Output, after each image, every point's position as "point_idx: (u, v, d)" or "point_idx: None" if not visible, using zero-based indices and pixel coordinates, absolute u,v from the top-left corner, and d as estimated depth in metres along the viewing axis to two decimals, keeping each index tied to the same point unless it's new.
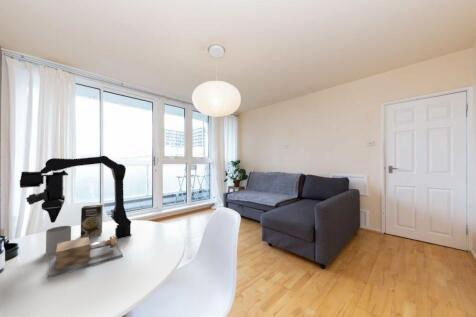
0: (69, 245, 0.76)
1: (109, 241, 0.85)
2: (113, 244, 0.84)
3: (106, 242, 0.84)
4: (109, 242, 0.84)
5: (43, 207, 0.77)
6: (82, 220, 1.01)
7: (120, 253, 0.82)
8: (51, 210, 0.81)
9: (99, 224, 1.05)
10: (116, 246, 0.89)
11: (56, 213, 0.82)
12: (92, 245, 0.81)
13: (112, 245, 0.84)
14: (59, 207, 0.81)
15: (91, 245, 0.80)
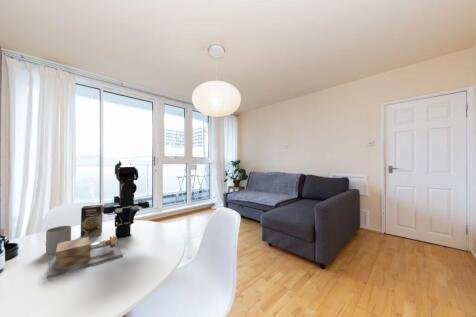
0: (69, 245, 0.76)
1: (109, 241, 0.85)
2: (113, 244, 0.84)
3: (106, 242, 0.84)
4: (109, 242, 0.84)
5: None
6: (82, 220, 1.01)
7: (120, 253, 0.82)
8: None
9: (99, 224, 1.05)
10: (116, 246, 0.89)
11: (120, 218, 0.87)
12: (92, 245, 0.81)
13: (112, 245, 0.84)
14: None
15: (91, 245, 0.80)
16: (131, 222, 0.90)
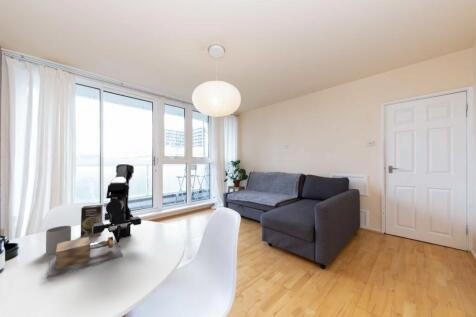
0: (69, 245, 0.76)
1: (107, 241, 0.84)
2: (111, 244, 0.84)
3: (104, 242, 0.83)
4: (107, 242, 0.84)
5: None
6: (82, 220, 1.01)
7: (120, 253, 0.82)
8: None
9: None
10: (116, 246, 0.89)
11: (114, 235, 0.85)
12: (90, 245, 0.80)
13: (110, 245, 0.84)
14: None
15: None
16: None
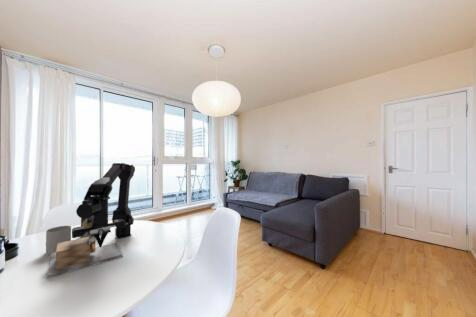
0: (69, 245, 0.76)
1: None
2: (93, 249, 0.80)
3: None
4: None
5: None
6: (82, 220, 1.01)
7: (120, 253, 0.82)
8: None
9: None
10: (116, 246, 0.89)
11: None
12: None
13: (92, 250, 0.79)
14: None
15: None
16: (101, 245, 0.83)
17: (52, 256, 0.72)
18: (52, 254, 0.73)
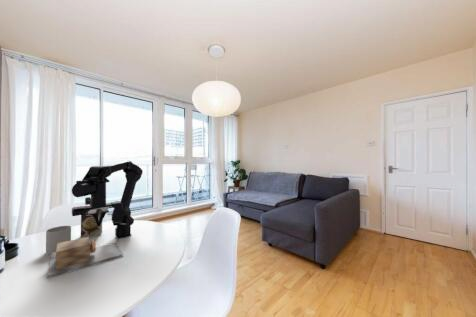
0: (69, 245, 0.76)
1: None
2: (93, 249, 0.80)
3: None
4: None
5: None
6: (82, 220, 1.01)
7: (120, 253, 0.82)
8: None
9: None
10: (116, 246, 0.89)
11: None
12: None
13: (92, 250, 0.79)
14: None
15: None
16: (100, 224, 0.88)
17: (52, 256, 0.72)
18: (52, 254, 0.73)
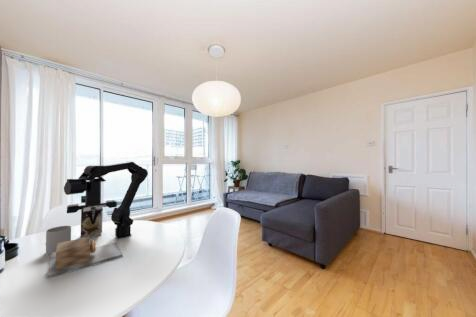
0: (69, 245, 0.76)
1: None
2: (93, 249, 0.80)
3: None
4: None
5: None
6: (82, 220, 1.01)
7: (120, 253, 0.82)
8: None
9: (99, 224, 1.05)
10: (116, 246, 0.89)
11: None
12: None
13: (92, 250, 0.79)
14: None
15: None
16: (94, 222, 0.91)
17: (52, 256, 0.72)
18: (52, 254, 0.73)
